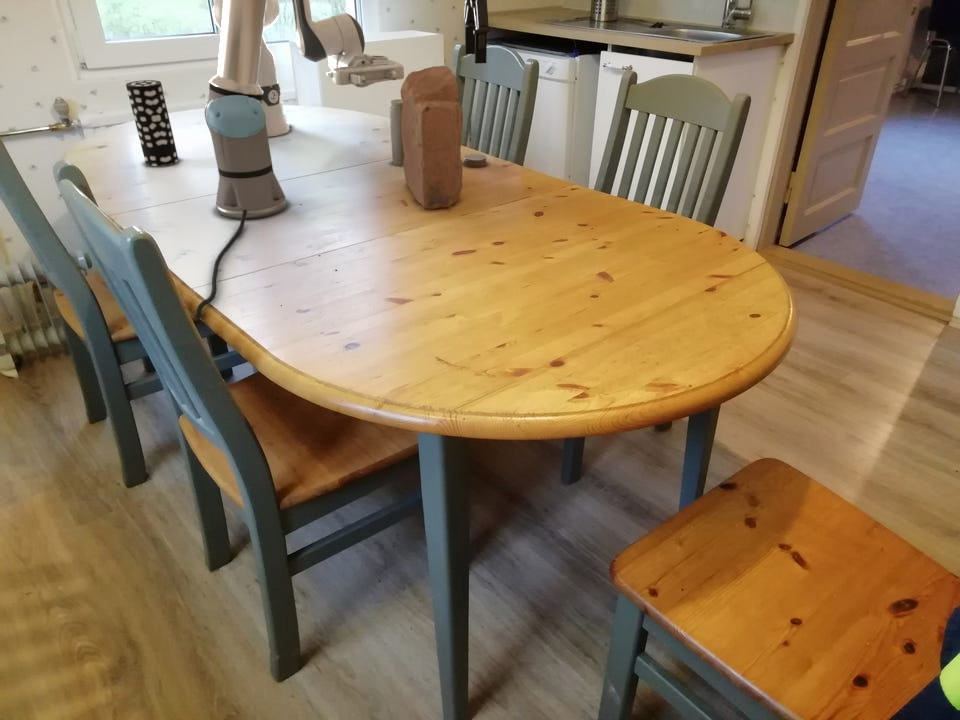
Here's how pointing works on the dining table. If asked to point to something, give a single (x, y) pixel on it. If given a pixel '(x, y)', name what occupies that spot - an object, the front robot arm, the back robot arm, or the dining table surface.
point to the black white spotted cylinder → (152, 122)
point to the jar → (396, 132)
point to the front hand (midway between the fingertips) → (475, 58)
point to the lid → (475, 160)
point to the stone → (432, 136)
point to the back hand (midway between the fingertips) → (379, 78)
